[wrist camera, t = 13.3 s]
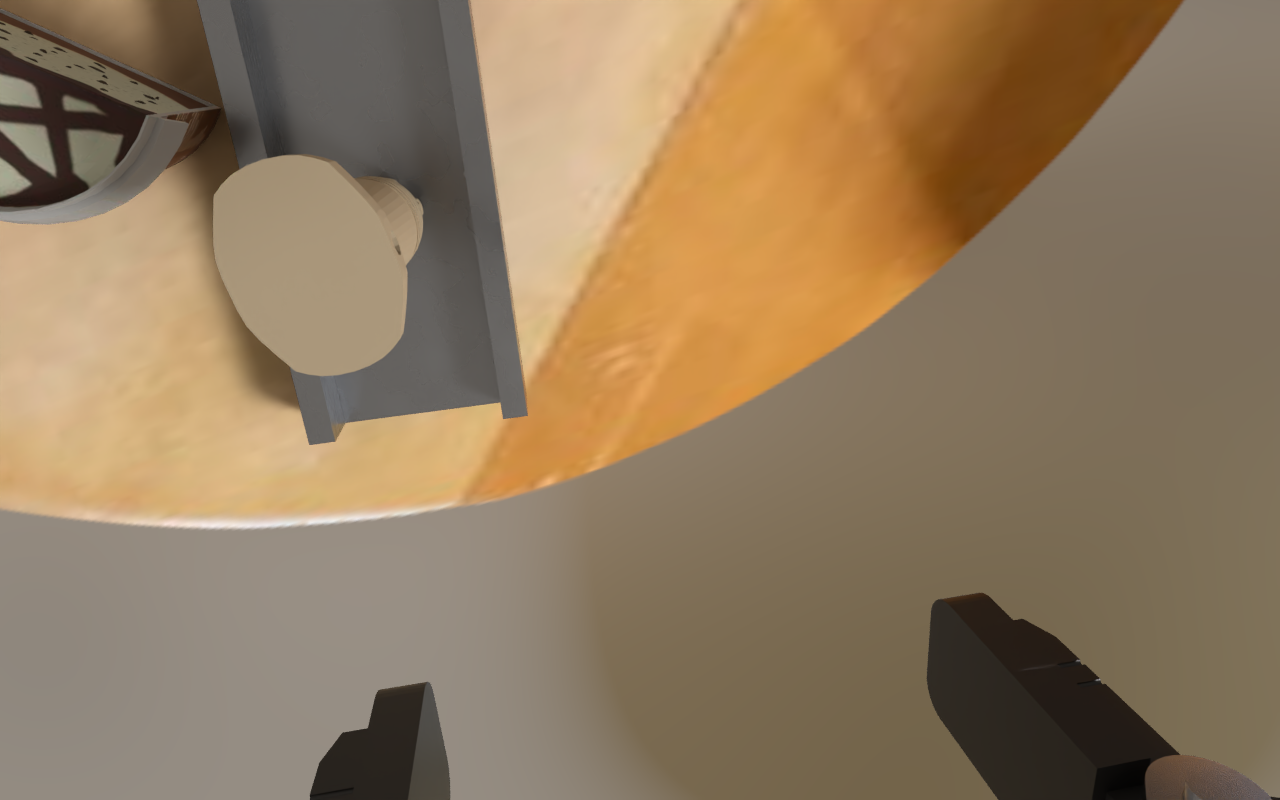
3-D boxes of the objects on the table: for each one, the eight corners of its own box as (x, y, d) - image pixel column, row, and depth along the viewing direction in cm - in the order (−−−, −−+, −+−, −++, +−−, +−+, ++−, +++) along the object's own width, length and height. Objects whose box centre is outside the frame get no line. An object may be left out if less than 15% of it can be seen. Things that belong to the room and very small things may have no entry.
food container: (-85, 127, 33) (-315, 128, 24) (-54, -17, 32) (-286, -74, 22) (214, 247, 37) (115, 289, 27) (256, 123, 35) (165, 123, 26)
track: (221, -13, 33) (190, -27, 30) (466, -29, 35) (461, -44, 31) (325, 418, 40) (309, 444, 37) (526, 392, 42) (527, 415, 38)
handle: (366, 293, 38) (277, 395, 24) (311, 159, 35) (176, 184, 21) (462, 264, 38) (431, 348, 24) (414, 129, 35) (347, 134, 21)
